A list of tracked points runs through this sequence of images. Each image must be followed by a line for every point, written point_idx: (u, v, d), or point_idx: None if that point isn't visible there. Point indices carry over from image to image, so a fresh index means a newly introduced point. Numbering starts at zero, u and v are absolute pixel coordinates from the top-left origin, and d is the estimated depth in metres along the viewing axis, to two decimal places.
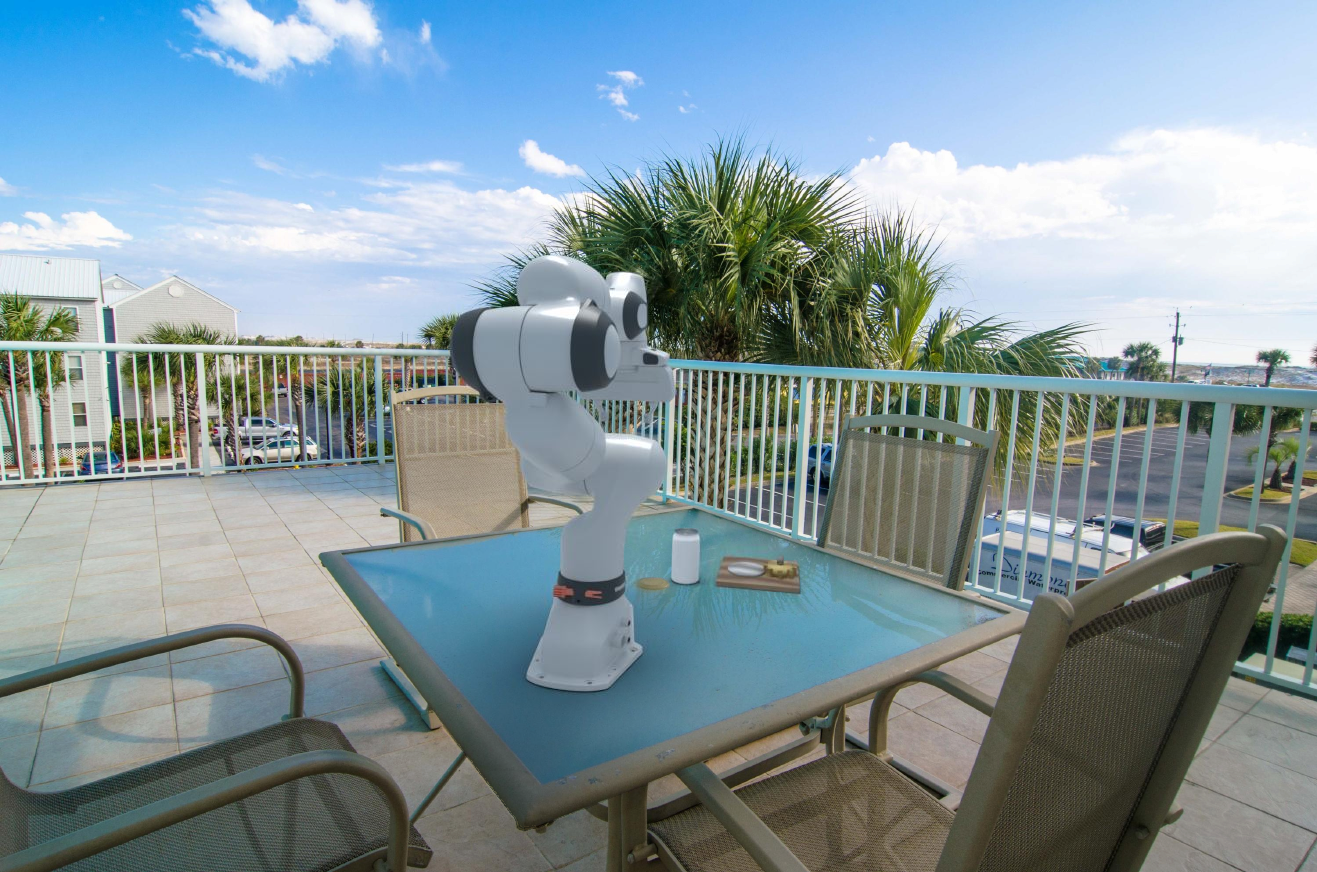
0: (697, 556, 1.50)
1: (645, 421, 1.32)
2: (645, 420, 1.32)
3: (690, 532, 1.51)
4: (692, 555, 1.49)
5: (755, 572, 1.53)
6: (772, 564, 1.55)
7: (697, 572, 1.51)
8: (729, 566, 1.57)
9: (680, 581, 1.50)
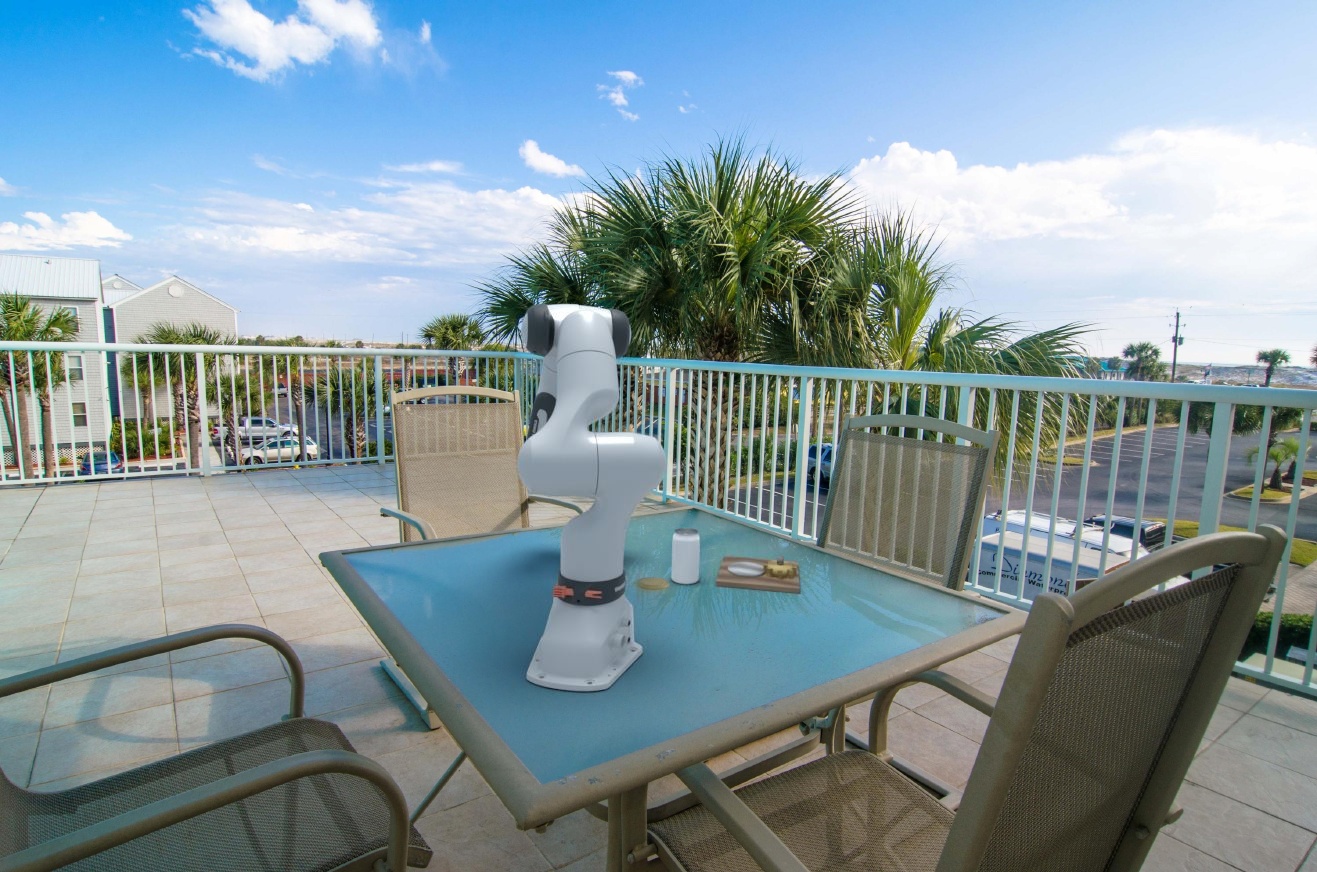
0: (697, 556, 1.50)
1: None
2: None
3: (690, 532, 1.51)
4: (692, 555, 1.49)
5: (755, 572, 1.53)
6: (772, 564, 1.55)
7: (697, 572, 1.51)
8: (729, 566, 1.57)
9: (680, 581, 1.50)
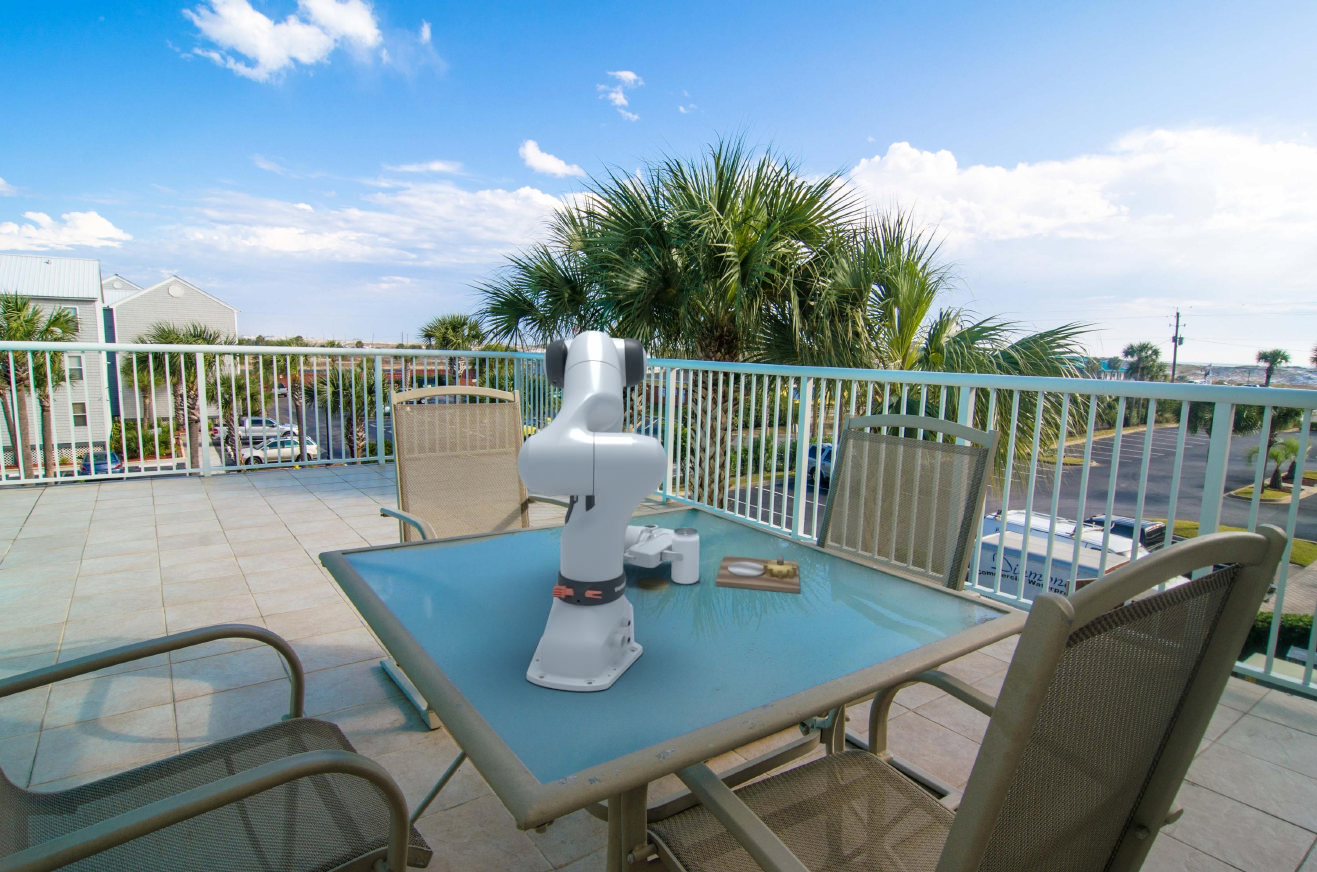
0: (697, 555, 1.50)
1: None
2: None
3: (689, 532, 1.51)
4: (692, 555, 1.49)
5: (755, 572, 1.53)
6: (772, 564, 1.55)
7: (697, 572, 1.51)
8: (729, 566, 1.57)
9: (680, 581, 1.50)
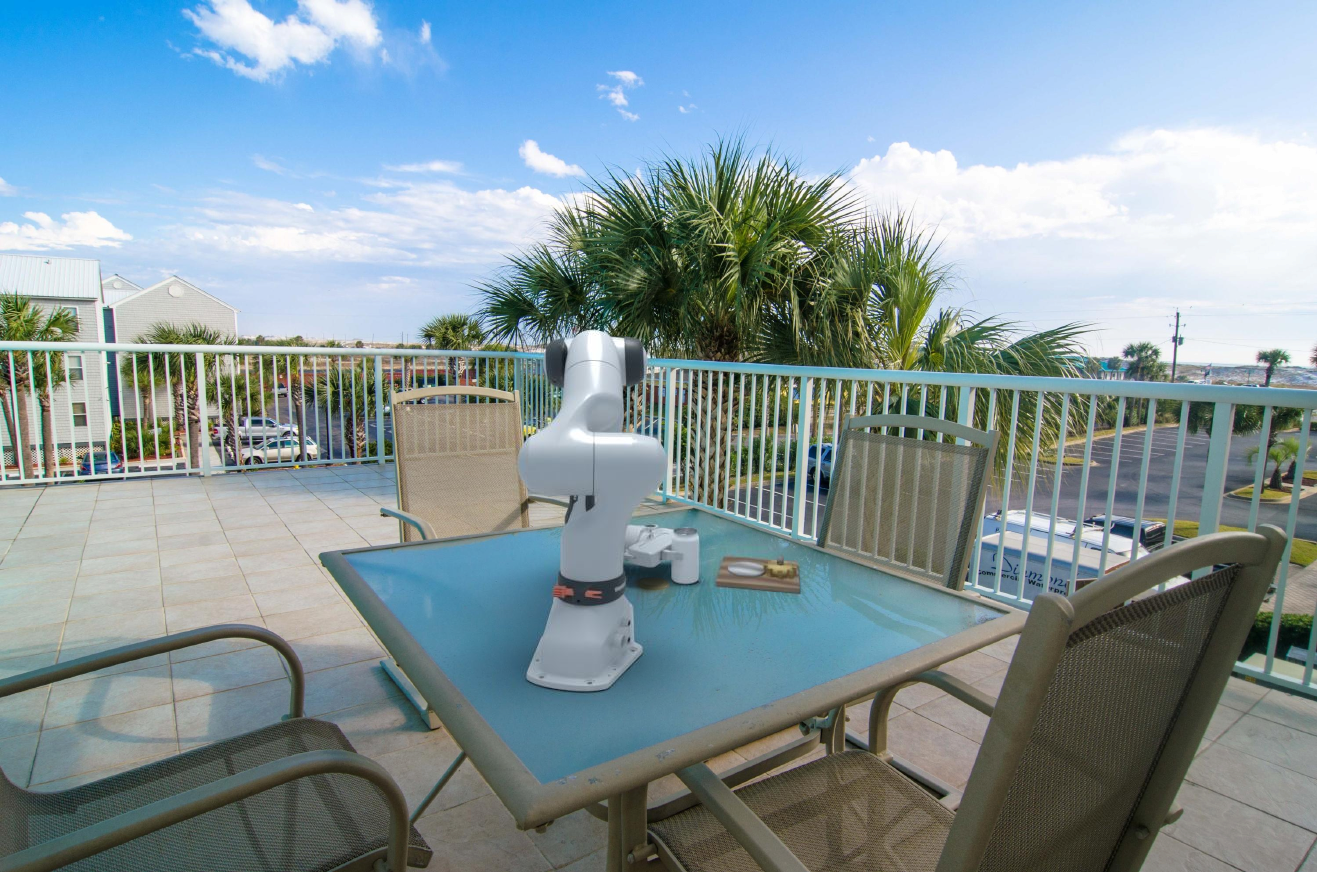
0: (697, 555, 1.50)
1: None
2: None
3: (689, 532, 1.51)
4: (692, 555, 1.49)
5: (755, 572, 1.53)
6: (772, 564, 1.55)
7: (697, 571, 1.51)
8: (729, 566, 1.57)
9: (680, 581, 1.50)
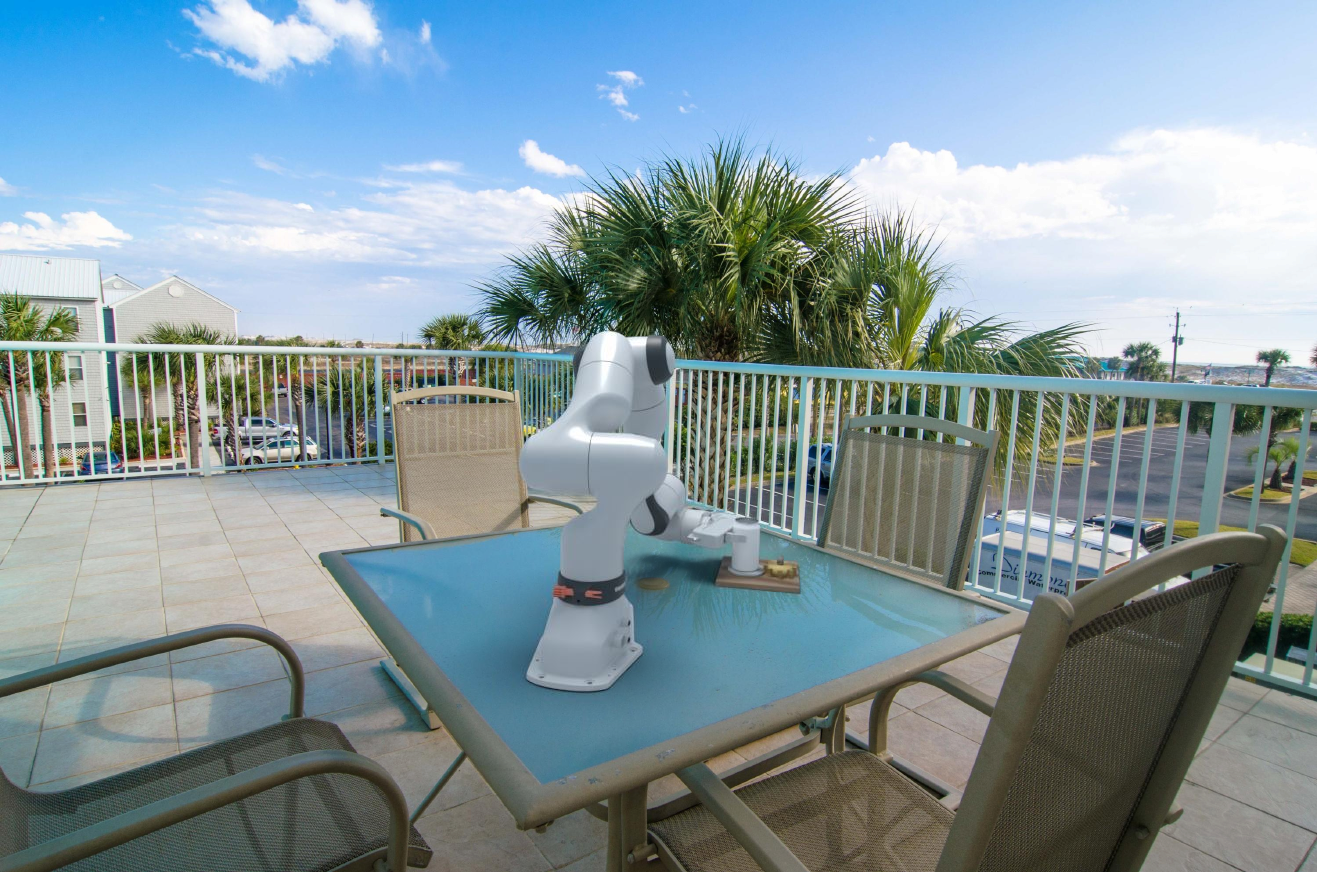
0: (757, 544, 1.54)
1: None
2: None
3: (750, 521, 1.55)
4: (752, 543, 1.53)
5: (755, 572, 1.53)
6: (772, 564, 1.55)
7: (757, 560, 1.54)
8: (729, 566, 1.57)
9: (739, 568, 1.54)
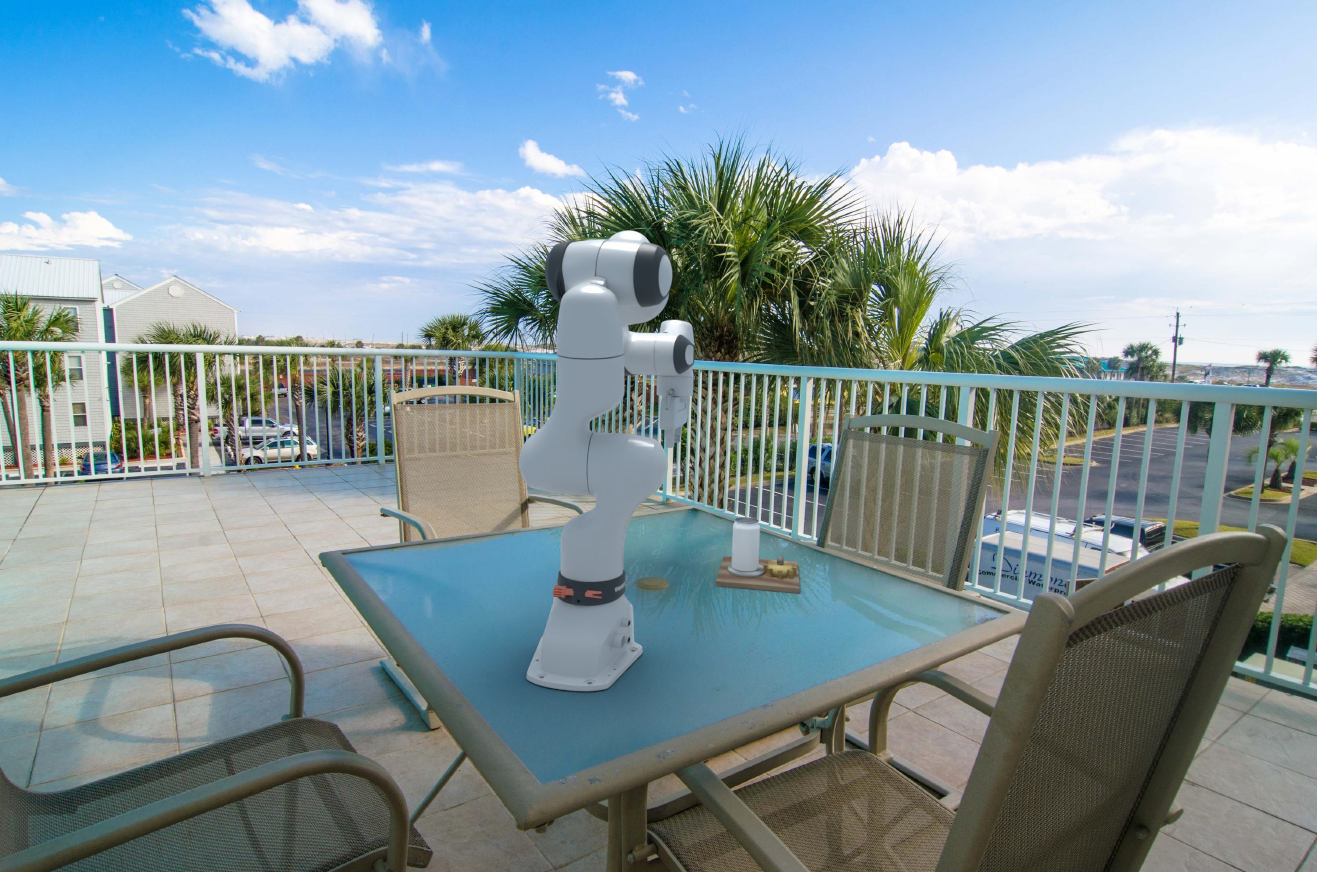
0: (757, 544, 1.54)
1: (679, 441, 1.62)
2: (679, 440, 1.62)
3: (750, 521, 1.55)
4: (752, 543, 1.53)
5: (755, 572, 1.53)
6: (772, 564, 1.55)
7: (757, 560, 1.54)
8: (729, 566, 1.57)
9: (739, 568, 1.54)
